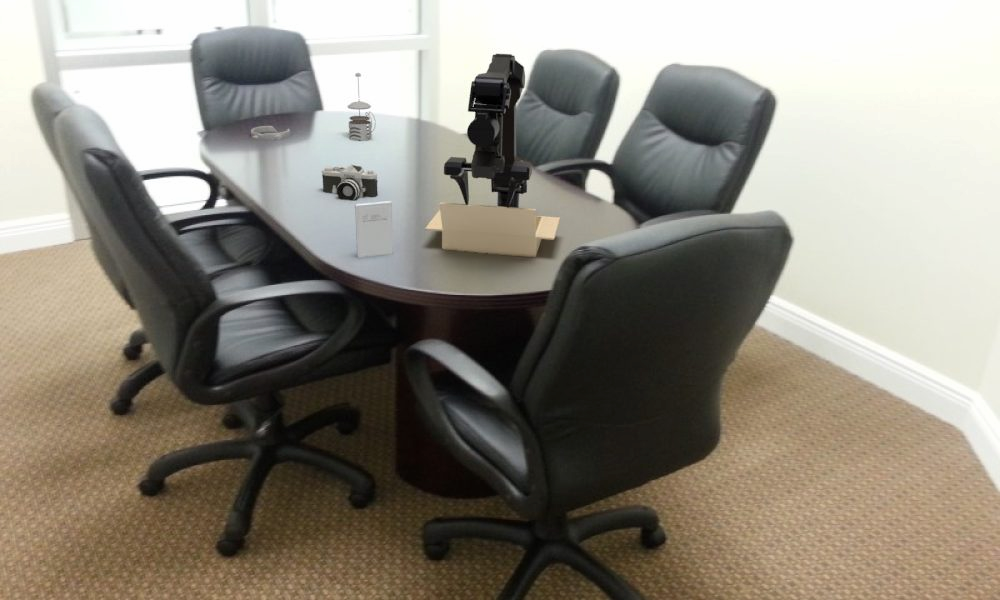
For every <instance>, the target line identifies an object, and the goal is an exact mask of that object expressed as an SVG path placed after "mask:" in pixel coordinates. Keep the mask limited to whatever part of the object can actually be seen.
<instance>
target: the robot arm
mask: <svg viewBox="0 0 1000 600" xmlns="http://www.w3.org/2000/svg"><path fill="white" fill-rule="evenodd" d="M525 85H526V73H525V66H523V65H522V64H521V63H520V62H519V61H517V60H516V58H515V55H513V54H512V53H495V54H492V56H491V62H490V63H489V65H488V68H487V70H486V72H484V73H479V74H477V75H476V76H475V78H474V80H472V81H471V84H470V91H469V92H470V93H469V99H468V107H467V112H470V113H474V119H473V120H472V121H471V122H470V123H469V125H468V126H467V129H466V132H467V133H466V134H467V138H468V140H469V141H470V143H471V144H472V145H473V146H474V152H473V156H472V160H471V162H468V161H467V158H466V157H459V156H450V157H449V158H448V159H447V160H446V162H445V163H444V164H443V165H444V166H443V174H444V175H445V176H449V178H450V179H451V180H454V181H455V182H456V184H457V185H458V188H459V189H460V192H461V194H462V199H463V200H464V204H466V205H468V204H470V203H469V201H470V198H469V197H470V192H469V191H470V190H469V173H468V172H471V177H472V178H474V179H479V178H481V179H487V180H490V183H491V184H490V185H491V193H497V200H496V201H497V203H496V205H497V206H500V207H507V208H509V207H513V208H520V195H524V194H526V193H527V192H528V181H530V178H531V177H532V175H533V165H532V163H531V162H530V161H522V160H521V159H520V157H519V156H518V155H517V104H518V102H519V100H520V98H521V96H522V93H523V90H524V89H525V87H526V86H525Z"/></svg>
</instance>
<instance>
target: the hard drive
mask: <svg viewBox="0 0 1000 600" xmlns="http://www.w3.org/2000/svg"><path fill="white" fill-rule="evenodd" d="M354 209H355V210H354V211H355V213H354V214H355V231H356V234H355V235H356V254H357V255H356V256H357V258H367V257H375V256H382V255H392V254H394V236H393V235H394V230H393V228H394V227H393V202H392V200H381V201H372V202H371V201H370V202H359V203H355V204H354Z"/></svg>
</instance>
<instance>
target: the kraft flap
mask: <svg viewBox="0 0 1000 600" xmlns="http://www.w3.org/2000/svg"><path fill="white" fill-rule="evenodd" d="M438 206H439V210H440V213H441V221H442V229H443V230H454V231H467V232H480V233H493V234H506V235H519V236H532V237H536V216H537V215H536V212H537V211H536V208H527V207H526V208H525V207H519V208H513V207H509V208H507V207H500V206H496V205H483V204H470V203H469V204H468V205H466V204H465V203H457V202H456V203H455V202H443V201H440V202H439V205H438Z"/></svg>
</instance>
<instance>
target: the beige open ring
mask: <svg viewBox="0 0 1000 600" xmlns="http://www.w3.org/2000/svg"><path fill="white" fill-rule="evenodd" d="M265 132H266V133H265ZM267 132H269V133H267ZM291 136H292V135H291V130H290V128H287V129H286V130H285V131H281V132H278V131H277V129H276V128H274V126H272V125H261V126H256V127H252V128H251V129H250V137H251V139H252V140H270V141H271V140H273V141H274V140H275V141H282V140H284V139H288V138H289V137H291Z"/></svg>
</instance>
